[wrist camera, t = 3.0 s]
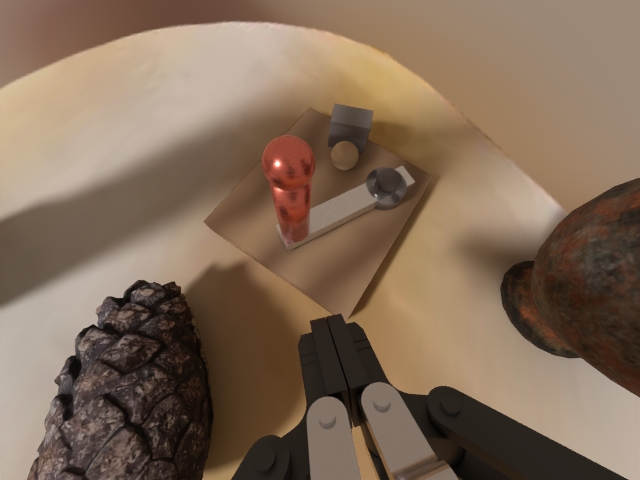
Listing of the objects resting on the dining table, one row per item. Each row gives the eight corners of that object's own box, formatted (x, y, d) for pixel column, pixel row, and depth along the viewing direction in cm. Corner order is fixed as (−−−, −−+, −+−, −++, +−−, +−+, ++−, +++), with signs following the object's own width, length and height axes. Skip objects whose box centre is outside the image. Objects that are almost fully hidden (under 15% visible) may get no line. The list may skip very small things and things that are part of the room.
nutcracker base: (210, 228, 29) (186, 203, 23) (310, 118, 35) (311, 77, 29) (343, 321, 26) (354, 318, 20) (426, 184, 32) (452, 153, 27)
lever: (392, 168, 30) (457, 47, 17) (414, 197, 29) (500, 91, 16) (272, 224, 27) (243, 127, 14) (291, 260, 25) (278, 188, 13)
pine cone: (200, 277, 27) (144, 248, 17) (239, 473, 21) (189, 585, 12) (94, 310, 25) (-31, 298, 16) (107, 532, 20) (-71, 715, 10)
